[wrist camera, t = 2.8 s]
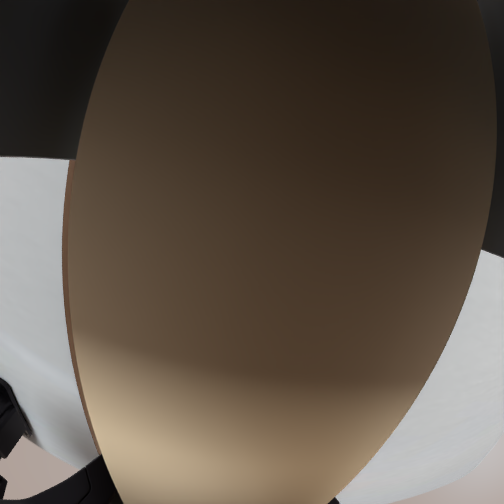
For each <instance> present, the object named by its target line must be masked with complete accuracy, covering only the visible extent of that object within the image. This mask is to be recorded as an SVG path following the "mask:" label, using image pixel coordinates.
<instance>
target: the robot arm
mask: <svg viewBox="0 0 504 504" xmlns="http://www.w3.org/2000/svg"><path fill="white" fill-rule="evenodd" d="M23 434H24V435H26V436H27V437H30V436H31V435H32V433H31V431H30V429H29V427H28V425H27V424H26V422H25V420H24V418H23V416H22V414H21V412H20V409H19V407H18V405H17V403H16V401H15V399H14V396H13V394H12V392H11V389H10V387H9V386H8V384H7V383H6V382H5V381H3V380H2V379H0V459H1V458H4V459H5V458H7V457H8V455H9V454H10V452H11V451H12V449H13V448H14V446H15V445H16V443H17V442H18V441H19V439H20V438H21V436H22V435H23ZM6 485H7V480H6V479H5V478H3V477H2V476H1V475H0V504H124V503H123V501H122V499H121V497H120V495H119V493H118V491H117V489H116V487H115V484H114V482H113V480H112V478H111V475H110V473H109V471H108V468H107V466H106V463H105V461H104V458H103V455H102V454H100V455H99V456H98V457H97V458H95V459H94V460H93V461H91V462H90V463H89V464H88V465H86V468H85V467H83V468H82V469H81V470H80V471H78V472H77V473H75V474H74V475H72V476H71V477H70V478H68V479H66V480H65V481H63V482H61V483H59V484H57V485H56V486H54V487H51V488H50V489H48V490H45V491H44V492H41V493H39V494H37V495H35V496H32V497H30V498H26V499H21V500H3V496H4V493H5V489H6ZM328 504H339V501H338V500H337V499H336V498H335V497H334V498H333V499H332V500H331V501H330V502H329V503H328Z"/></svg>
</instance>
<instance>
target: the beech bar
mask: <svg viewBox="0 0 504 504" xmlns="http://www.w3.org/2000/svg"><path fill="white" fill-rule="evenodd" d="M496 145H497V111H496V94H495V83H494V74H493V67H492V60H491V54H490V49H489V44H488V39H487V35H486V31H485V26H484V23H483V19H482V15H481V12H480V9H479V5H478V2H477V0H129V1H128V3H127V5H126V7H125V9H124V11H123V13H122V15H121V17H120V19H119V21H118V23H117V26H116V28H115V30H114V32H113V35H112V37H111V39H110V42H109V44H108V47H107V49H106V52H105V54H104V57H103V59H102V62H101V65H100V68H99V71H98V74H97V77H96V80H95V83H94V86H93V89H92V92H91V96H90V99H89V103H88V107H87V110H86V114H85V118H84V122H83V127H82V131H81V136H80V141H79V146H78V151H77V157H76V163H75V169H74V176H73V184H72V192H71V202H70V214H69V231H68V285H69V302H70V314H71V324H72V332H73V340H74V347H75V353H76V359H77V364H78V370H79V375H80V380H81V384H82V389H83V393H84V397H85V401H86V405H87V409H88V412H89V416H90V419H91V423H92V426H93V429H94V432H95V435H96V438H97V441H98V444H99V447H100V450H101V453H102V455H103V458H104V461H105V463H106V466H107V468H108V471H109V473H110V475H111V478H112V480H113V482H114V484H115V487H116V489H117V491H118V493H119V495H120V497H121V499H122V501H123V503H124V504H328V503H329V502H330V501H331V500H332V499H333V498H334V497H335V496H336V495H337V494H338V493H339V492H340V491H342V490H343V489H344V488H345V487H346V486H347V485H348V484H349V483H350V482H351V481H352V479H353V478H354V477H355V476H356V475H357V474H358V473H359V472H360V471H361V470H362V469H363V468H364V467H365V466H366V464H367V463H368V462H369V461H370V460H371V459H372V458H373V456H374V455H375V454H376V453H377V452H378V450H379V449H380V448H381V447H382V445H383V444H384V443H385V442H386V440H387V439H388V438H389V437H390V435H391V434H392V433H393V431H394V430H395V429H396V427H397V426H398V424H399V423H400V422H401V420H402V419H403V417H404V416H405V415H406V413H407V412H408V410H409V409H410V407H411V406H412V404H413V403H414V401H415V399H416V398H417V396H418V395H419V393H420V391H421V390H422V388H423V386H424V385H425V383H426V381H427V380H428V378H429V376H430V374H431V373H432V371H433V369H434V367H435V365H436V363H437V361H438V360H439V358H440V356H441V354H442V352H443V350H444V348H445V346H446V343H447V341H448V339H449V337H450V335H451V333H452V330H453V328H454V326H455V324H456V321H457V319H458V316H459V314H460V312H461V309H462V306H463V304H464V301H465V299H466V296H467V293H468V290H469V287H470V284H471V281H472V278H473V275H474V272H475V269H476V265H477V262H478V258H479V255H480V251H481V247H482V243H483V239H484V235H485V230H486V226H487V221H488V216H489V210H490V204H491V198H492V191H493V183H494V174H495V163H496Z"/></svg>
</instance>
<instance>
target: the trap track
mask: <svg viewBox="0 0 504 504" xmlns="http://www.w3.org/2000/svg"><path fill="white" fill-rule="evenodd" d="M128 1H129V0H0V157H26V158H48V159H64V160H70V161H69V168H68V175H67V182H66V191H65V201H64V213H63V232H62V275H63V294H64V307H65V317H66V325H67V333H68V340H69V346H70V352H71V358H72V363H73V368H74V373H75V378H76V382H77V386H78V390H79V394H80V398H81V402H82V406H83V409H84V413H85V416H86V419H87V422H88V426H89V429H90V432H91V435H92V438H93V440H94V443H95V446H96V449H97V451H98V454H99V455H100V454H102V453H101V450H100V447H99V444H98V441H97V438H96V435H95V432H94V429H93V426H92V423H91V419H90V416H89V412H88V409H87V405H86V401H85V397H84V393H83V389H82V384H81V380H80V375H79V370H78V364H77V359H76V353H75V347H74V340H73V332H72V324H71V314H70V302H69V285H68V231H69V214H70V202H71V192H72V184H73V176H74V169H75V163H76V157H77V151H78V146H79V141H80V136H81V131H82V127H83V122H84V118H85V114H86V110H87V107H88V103H89V99H90V96H91V92H92V89H93V86H94V83H95V80H96V77H97V74H98V71H99V68H100V65H101V62H102V59H103V57H104V54H105V52H106V49H107V47H108V44H109V42H110V39H111V37H112V35H113V32H114V30H115V28H116V26H117V23H118V21H119V19H120V17H121V15H122V13H123V11H124V9H125V7H126V5H127V3H128ZM477 2H478V5H479V9H480V12H481V15H482V19H483V23H484V26H485V31H486V35H487V39H488V44H489V49H490V54H491V60H492V67H493V74H494V83H495V94H496V111H497V145H496V163H495V174H494V183H493V191H492V198H491V204H490V210H489V216H488V221H487V226H486V230H485V235H484V239H483V243H482V247H481V250H484V251H487V252H489V253H492V254H494V255H497V256H499V257H502V258H504V0H477Z"/></svg>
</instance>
